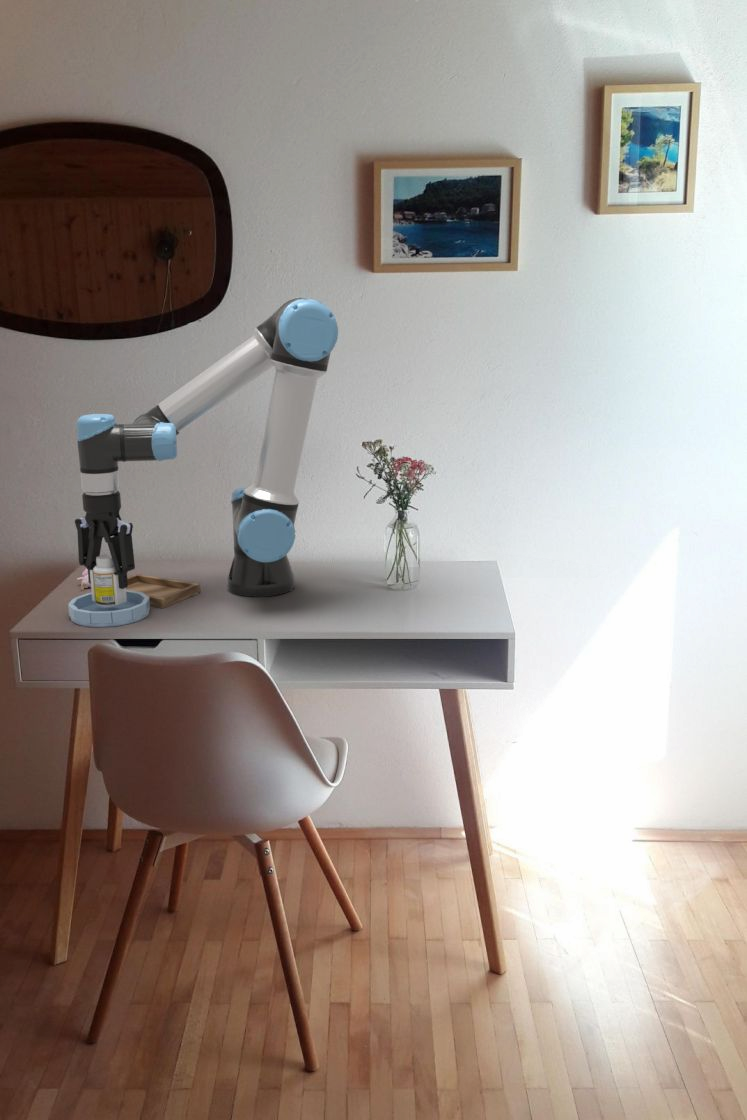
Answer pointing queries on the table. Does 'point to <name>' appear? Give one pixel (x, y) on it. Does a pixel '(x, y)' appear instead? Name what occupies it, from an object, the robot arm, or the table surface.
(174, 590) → the tray
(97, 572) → the supplement bottle
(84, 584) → the rabbit figure
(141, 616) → the bowl
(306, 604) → the table surface
